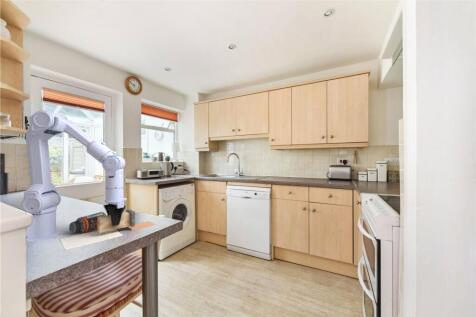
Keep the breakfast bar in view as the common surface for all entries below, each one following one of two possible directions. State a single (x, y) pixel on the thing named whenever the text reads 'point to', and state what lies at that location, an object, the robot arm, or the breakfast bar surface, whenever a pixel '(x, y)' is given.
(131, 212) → the wooden tool caddy
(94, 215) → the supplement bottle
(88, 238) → the rest mat
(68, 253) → the breakfast bar surface
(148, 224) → the tile
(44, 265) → the breakfast bar surface
